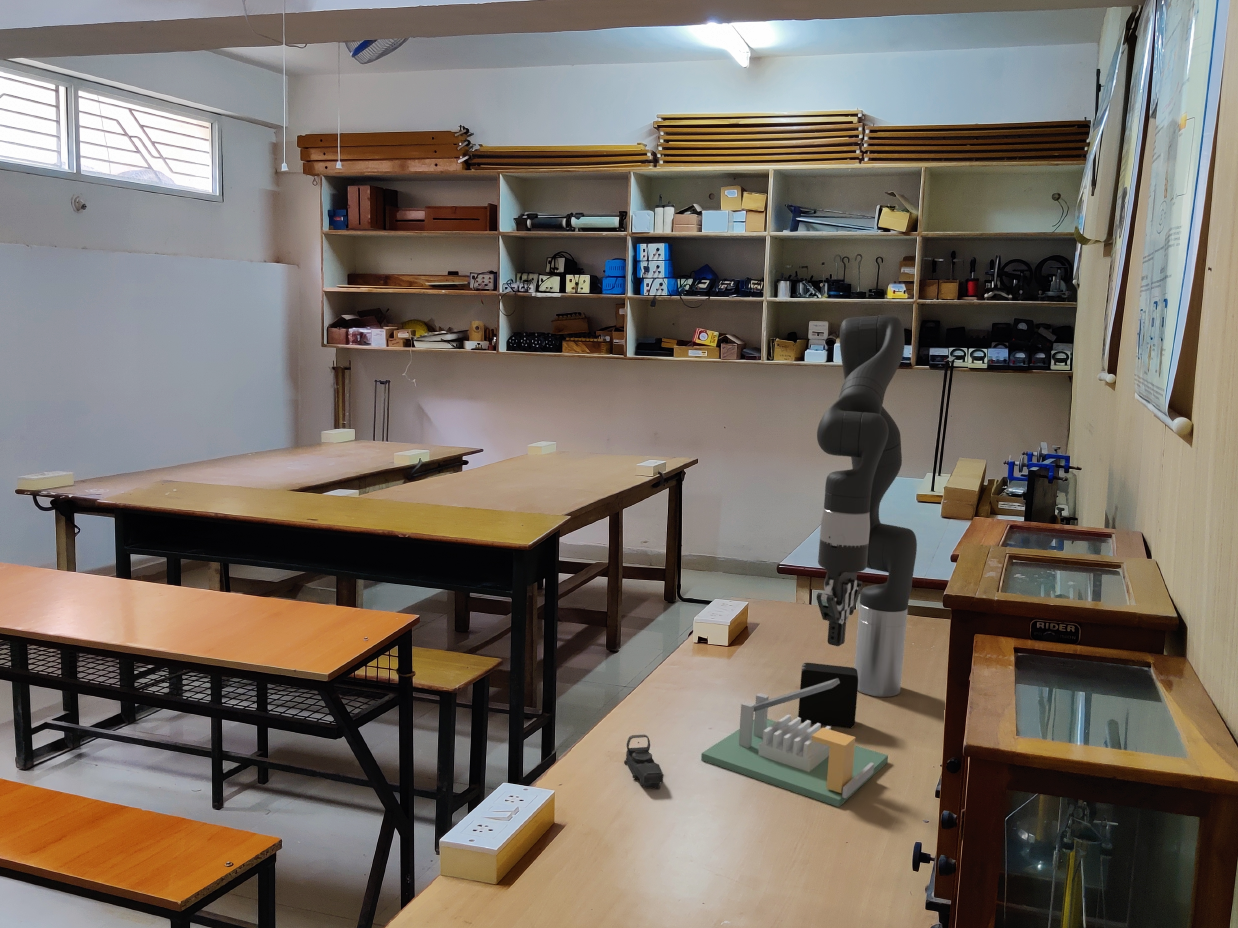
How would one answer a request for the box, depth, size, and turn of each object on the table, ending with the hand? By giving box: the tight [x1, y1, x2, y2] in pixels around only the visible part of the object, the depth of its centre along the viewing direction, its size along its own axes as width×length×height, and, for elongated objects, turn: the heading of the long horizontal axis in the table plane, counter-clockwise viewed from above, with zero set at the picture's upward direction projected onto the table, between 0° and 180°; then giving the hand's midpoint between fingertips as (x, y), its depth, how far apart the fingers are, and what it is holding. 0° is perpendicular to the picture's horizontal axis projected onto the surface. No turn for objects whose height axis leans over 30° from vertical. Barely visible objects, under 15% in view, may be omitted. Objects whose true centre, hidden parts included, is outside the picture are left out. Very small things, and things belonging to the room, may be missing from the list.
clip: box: [811, 727, 856, 793], centre depth 151 cm, size 4×5×8 cm
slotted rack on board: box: [700, 692, 889, 808], centre depth 162 cm, size 20×25×8 cm
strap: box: [753, 678, 840, 713], centre depth 162 cm, size 4×16×1 cm, turn 54°
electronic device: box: [797, 662, 859, 729], centre depth 179 cm, size 4×10×10 cm, turn 78°
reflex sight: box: [623, 734, 664, 790], centre depth 154 cm, size 4×10×5 cm, turn 13°
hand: (835, 643), depth 157 cm, fingers closed
